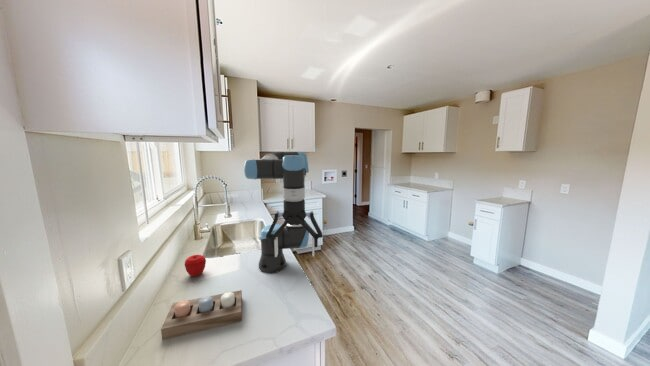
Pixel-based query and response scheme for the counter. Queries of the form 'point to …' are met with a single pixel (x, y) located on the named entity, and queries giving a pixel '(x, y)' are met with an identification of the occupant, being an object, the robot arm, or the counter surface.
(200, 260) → the apple
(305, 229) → the robot arm
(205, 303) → the button slate
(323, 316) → the counter surface
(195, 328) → the console
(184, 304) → the button terracotta
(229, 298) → the button cream
